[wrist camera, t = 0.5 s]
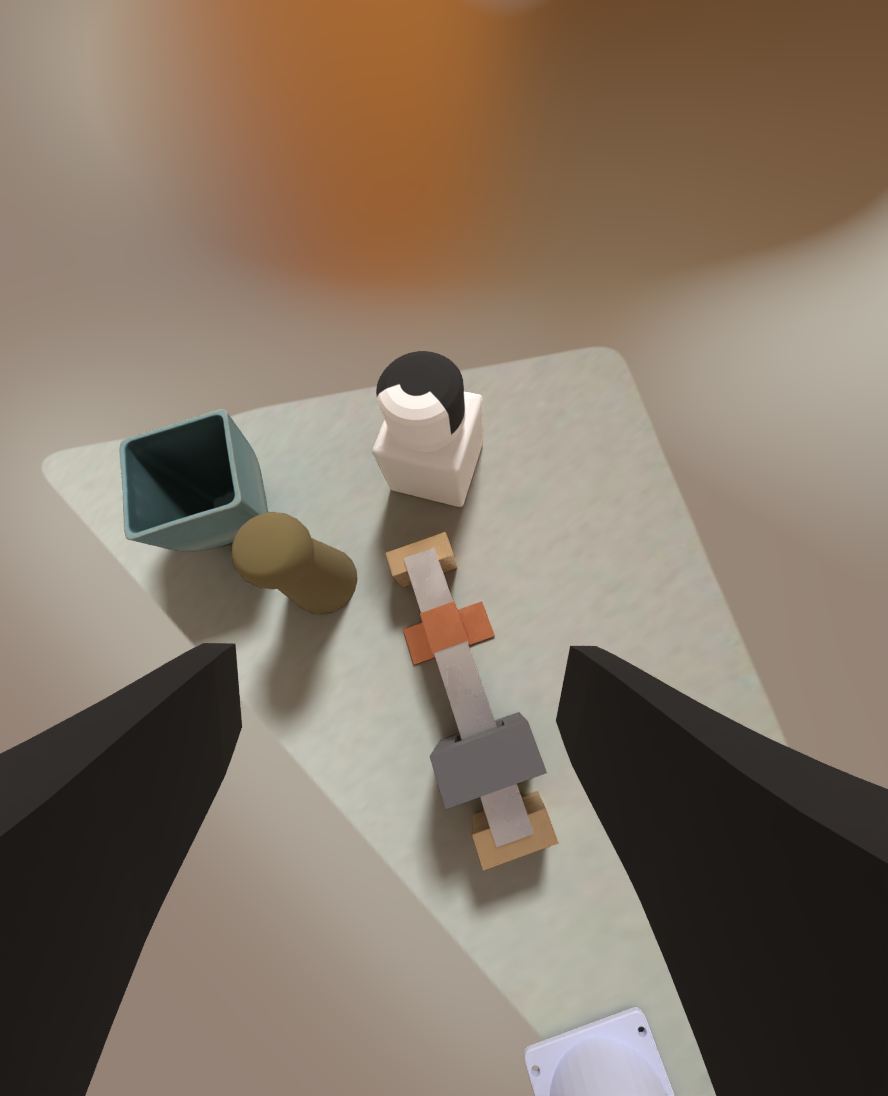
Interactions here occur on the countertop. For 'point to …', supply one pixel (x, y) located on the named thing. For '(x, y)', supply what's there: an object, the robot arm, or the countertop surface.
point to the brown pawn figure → (293, 563)
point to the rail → (467, 694)
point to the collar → (486, 761)
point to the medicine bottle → (428, 428)
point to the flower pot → (190, 484)
